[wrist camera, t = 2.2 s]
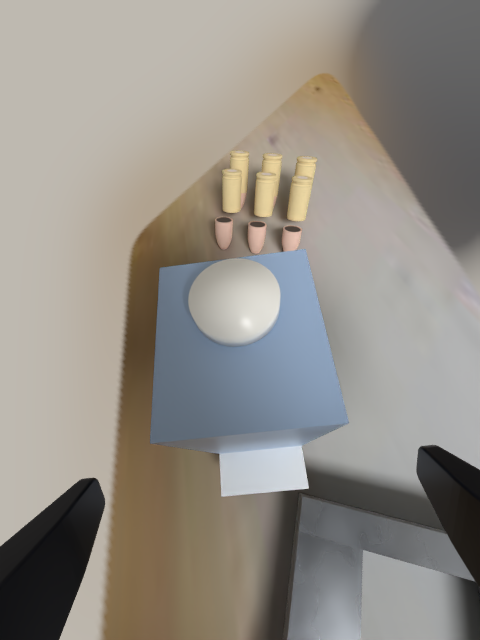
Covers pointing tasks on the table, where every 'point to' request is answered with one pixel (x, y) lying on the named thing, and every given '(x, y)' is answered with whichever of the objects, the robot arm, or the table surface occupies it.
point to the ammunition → (264, 198)
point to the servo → (244, 368)
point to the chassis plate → (350, 564)
